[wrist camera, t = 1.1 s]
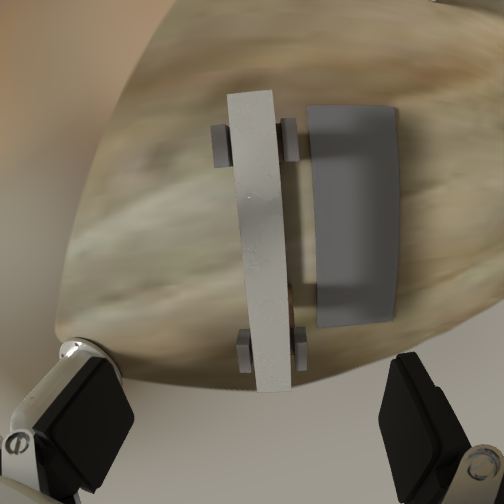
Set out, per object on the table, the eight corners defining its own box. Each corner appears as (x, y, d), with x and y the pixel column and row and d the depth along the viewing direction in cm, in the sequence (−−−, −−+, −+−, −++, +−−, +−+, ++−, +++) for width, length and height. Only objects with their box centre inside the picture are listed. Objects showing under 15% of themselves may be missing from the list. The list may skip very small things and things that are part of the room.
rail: (290, 370, 27) (291, 391, 25) (259, 372, 28) (257, 392, 25) (272, 98, 21) (271, 89, 18) (233, 102, 21) (226, 94, 18)
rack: (299, 305, 36) (306, 370, 24) (252, 308, 37) (239, 372, 25) (289, 134, 31) (295, 117, 19) (235, 138, 31) (210, 126, 19)
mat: (391, 318, 36) (392, 320, 35) (316, 325, 37) (317, 328, 36) (392, 107, 29) (394, 107, 28) (306, 106, 30) (306, 105, 29)
